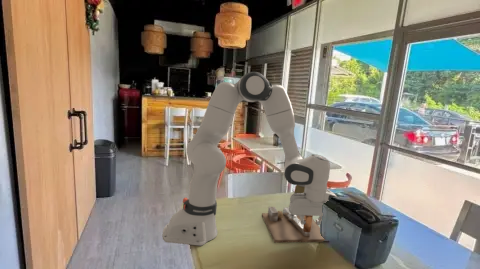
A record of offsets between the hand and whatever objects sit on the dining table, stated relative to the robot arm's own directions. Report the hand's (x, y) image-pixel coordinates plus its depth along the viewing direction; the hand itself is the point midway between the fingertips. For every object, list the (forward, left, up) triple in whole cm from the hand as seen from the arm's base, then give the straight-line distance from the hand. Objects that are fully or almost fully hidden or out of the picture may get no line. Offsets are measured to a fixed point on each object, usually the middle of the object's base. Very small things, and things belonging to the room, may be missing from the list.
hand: (310, 224), depth 112 cm
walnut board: (-4, +8, -7) cm, 11 cm away
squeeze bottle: (+7, +29, -7) cm, 31 cm away
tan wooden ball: (-9, +15, -5) cm, 18 cm away
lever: (-2, +9, -5) cm, 11 cm away
